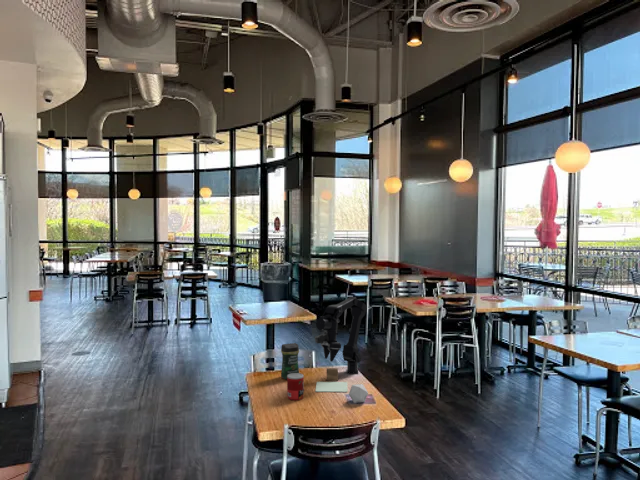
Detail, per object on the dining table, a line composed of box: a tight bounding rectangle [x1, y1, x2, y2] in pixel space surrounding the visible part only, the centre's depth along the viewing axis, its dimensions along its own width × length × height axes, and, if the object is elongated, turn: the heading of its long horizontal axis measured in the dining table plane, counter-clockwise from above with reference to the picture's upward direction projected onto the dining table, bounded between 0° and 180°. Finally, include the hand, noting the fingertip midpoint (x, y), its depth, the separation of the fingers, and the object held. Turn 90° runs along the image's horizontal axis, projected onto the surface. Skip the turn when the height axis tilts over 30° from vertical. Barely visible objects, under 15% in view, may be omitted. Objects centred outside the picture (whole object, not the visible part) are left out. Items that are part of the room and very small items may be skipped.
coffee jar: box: [280, 342, 300, 380], centre depth 256 cm, size 10×8×19 cm
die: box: [348, 383, 369, 404], centre depth 220 cm, size 8×9×10 cm
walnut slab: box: [326, 367, 339, 382], centre depth 251 cm, size 2×6×6 cm, turn 87°
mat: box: [314, 381, 349, 393], centre depth 240 cm, size 14×16×1 cm
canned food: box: [286, 372, 305, 402], centre depth 225 cm, size 8×8×11 cm
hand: (328, 360), depth 246 cm, fingers open, 9 cm apart
